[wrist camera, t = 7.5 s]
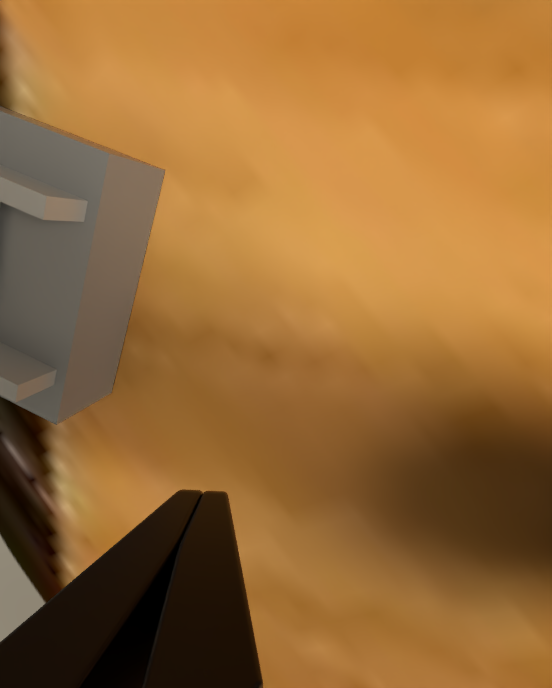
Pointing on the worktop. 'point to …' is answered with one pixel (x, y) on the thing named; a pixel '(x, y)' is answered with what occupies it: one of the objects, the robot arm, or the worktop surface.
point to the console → (67, 263)
